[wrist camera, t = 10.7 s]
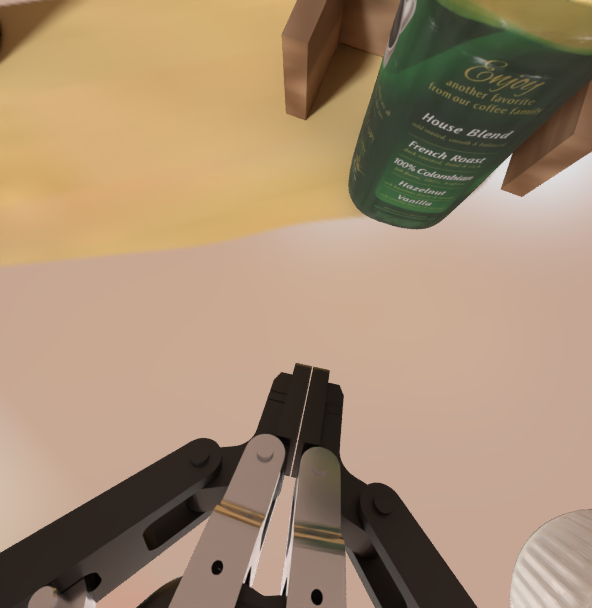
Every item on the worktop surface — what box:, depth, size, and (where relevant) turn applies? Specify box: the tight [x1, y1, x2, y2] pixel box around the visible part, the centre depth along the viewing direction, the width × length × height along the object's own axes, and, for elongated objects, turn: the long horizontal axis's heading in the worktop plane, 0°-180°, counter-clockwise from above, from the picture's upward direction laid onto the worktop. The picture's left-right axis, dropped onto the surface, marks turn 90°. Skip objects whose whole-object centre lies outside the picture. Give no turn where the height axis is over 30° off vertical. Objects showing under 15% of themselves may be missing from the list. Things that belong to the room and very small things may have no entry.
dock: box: [282, 0, 592, 197], centre depth 20 cm, size 19×9×6 cm, turn 68°
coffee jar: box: [348, 0, 592, 229], centre depth 13 cm, size 10×8×19 cm
